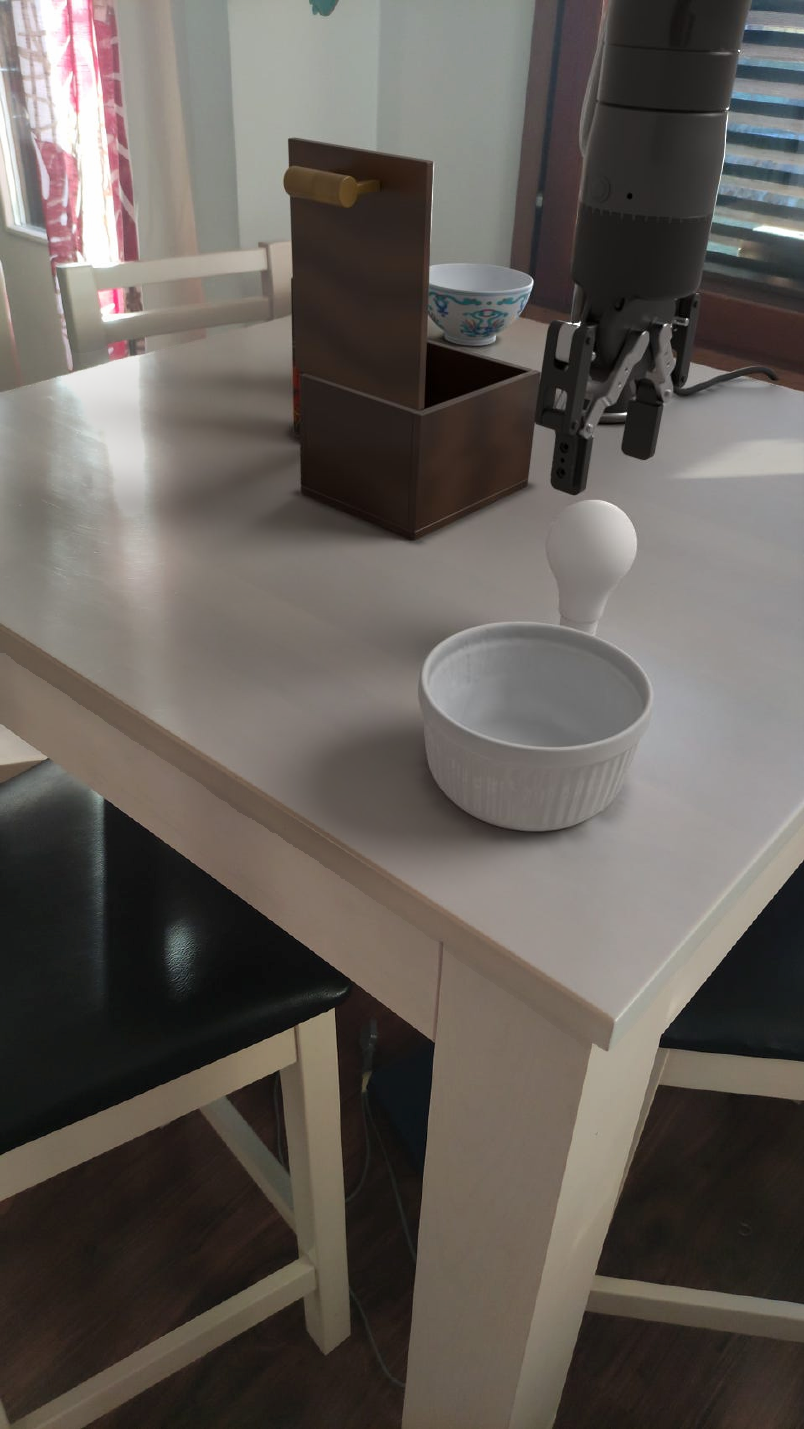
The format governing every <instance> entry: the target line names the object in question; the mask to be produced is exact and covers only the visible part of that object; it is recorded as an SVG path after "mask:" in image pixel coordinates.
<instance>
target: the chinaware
mask: <svg viewBox="0 0 804 1429" xmlns="http://www.w3.org/2000/svg"><path fill="white" fill-rule="evenodd" d="M533 286H534V279H533V277H532V276H531V275H529V274H527V273H525V272H523V271H520V270H517V269H513V268H510V267H505V266H500V265H492V264H484V263H466V262H465V263H464V262H459V263H457V262H456V263H455V262H452V263H440V264H434V265H430V272H429V298H428V318H429V319H430V320H431V321H432V323H434V324H435V325H436V326H437V327H438V328H439V329H440V330H442V331H443V332H444V339H445V340H446V341H448V342H450V343H452V344H457V345H461V346H468V347H469V346H471V347H476V346H477V347H480V346H487V345H491V344H493V343H495V341H496V339H497V335H499V334H500V333H502V332H503V331H505V330H506V329H507V328H509V327H510V326H511V325H512V324H513V323H514V322H515V321H516V320H517V319H518V317H520V315H521V313H523V310H524V309H525V306H526V305H527V303H528V301H529V298H530V295H531V292H532V289H533Z"/></svg>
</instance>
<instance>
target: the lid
mask: <svg viewBox="0 0 804 1429" xmlns="http://www.w3.org/2000/svg"><path fill="white" fill-rule="evenodd" d="M287 151H288V152H287V154H288V168H287V169H286V171H285V172H284V175H283V181H282V182H283V183H282V184H283V189H284V191H285V193H286V194H287V195H288V196H289V210H290V212H289V214H290V240H291V270H292V271H291V272H292V275H291V276H292V277H293V305H294V335H295V365H296V370H297V371H300V372H303V373H306V374H309V375H312V376H315V377H318V378H321V379H324V380H327V381H330V382H333V383H336V384H339V385H342V386H345V387H348V388H351V389H354V390H357V391H360V392H363V393H366V394H369V395H372V396H375V397H378V398H381V399H384V400H387V401H390V402H393V403H396V404H399V405H402V406H405V407H408V408H411V409H414V410H417V411H419V410H421V409H424V399H425V373H426V348H427V339H428V322H429V321H428V318H429V315H428V298H429V272H430V266H431V247H432V246H431V243H432V221H433V196H434V195H433V194H434V169H435V164H434V163H435V161H434V160H430V159H424V158H423V159H422V158H417V157H412V156H406V155H399V154H394V153H388V152H382V151H378V150H377V151H376V150H371V149H365V148H359V147H355V146H354V147H352V146H347V145H341V144H335V143H330V142H324V141H318V140H312V139H306V138H301V137H289V138H287Z"/></svg>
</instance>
